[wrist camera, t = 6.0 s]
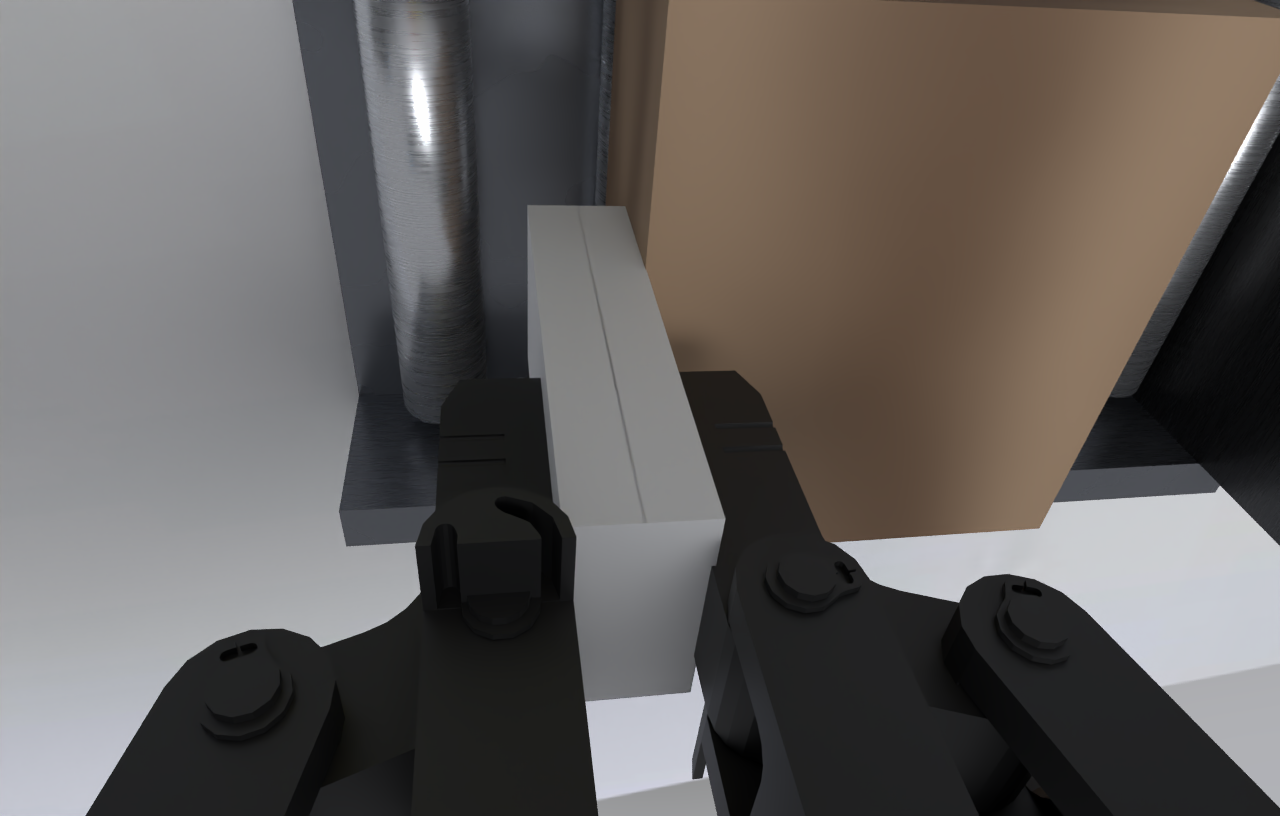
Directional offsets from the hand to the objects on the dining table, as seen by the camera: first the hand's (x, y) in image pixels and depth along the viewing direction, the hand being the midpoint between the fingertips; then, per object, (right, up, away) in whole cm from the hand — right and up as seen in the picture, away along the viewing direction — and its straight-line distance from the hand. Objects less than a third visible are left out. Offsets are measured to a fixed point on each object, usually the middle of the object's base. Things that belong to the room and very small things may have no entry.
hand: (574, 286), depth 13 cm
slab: (+4, +2, +2) cm, 5 cm away
